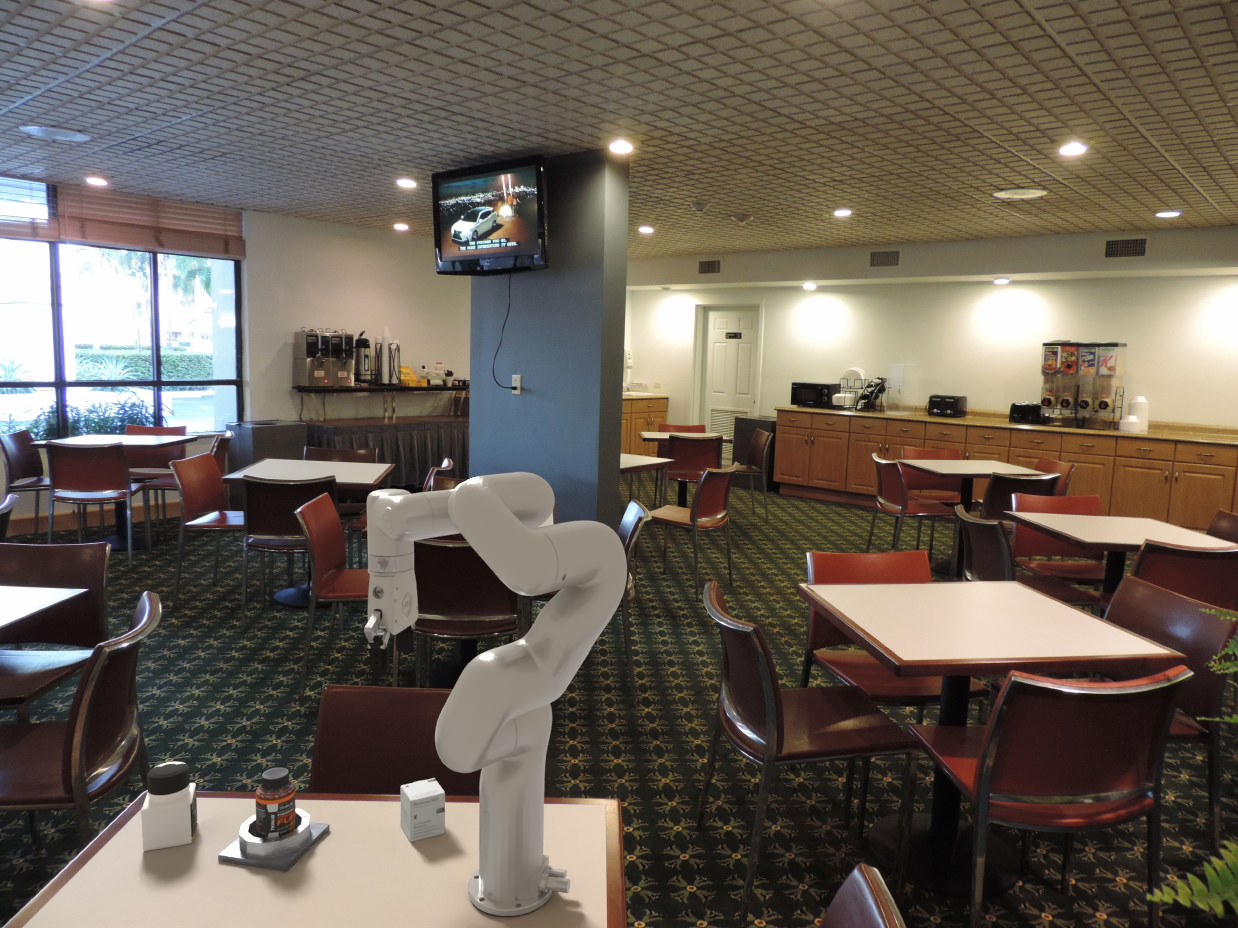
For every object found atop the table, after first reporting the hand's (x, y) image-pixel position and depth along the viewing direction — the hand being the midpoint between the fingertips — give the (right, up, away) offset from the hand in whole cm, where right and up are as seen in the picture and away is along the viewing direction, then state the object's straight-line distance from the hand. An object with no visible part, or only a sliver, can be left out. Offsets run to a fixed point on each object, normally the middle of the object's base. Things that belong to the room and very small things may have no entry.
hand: (392, 660), depth 140 cm
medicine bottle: (-35, -28, -5) cm, 45 cm away
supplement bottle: (-17, -28, -7) cm, 33 cm away
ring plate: (-17, -28, -7) cm, 34 cm away
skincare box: (+5, -29, -1) cm, 29 cm away
